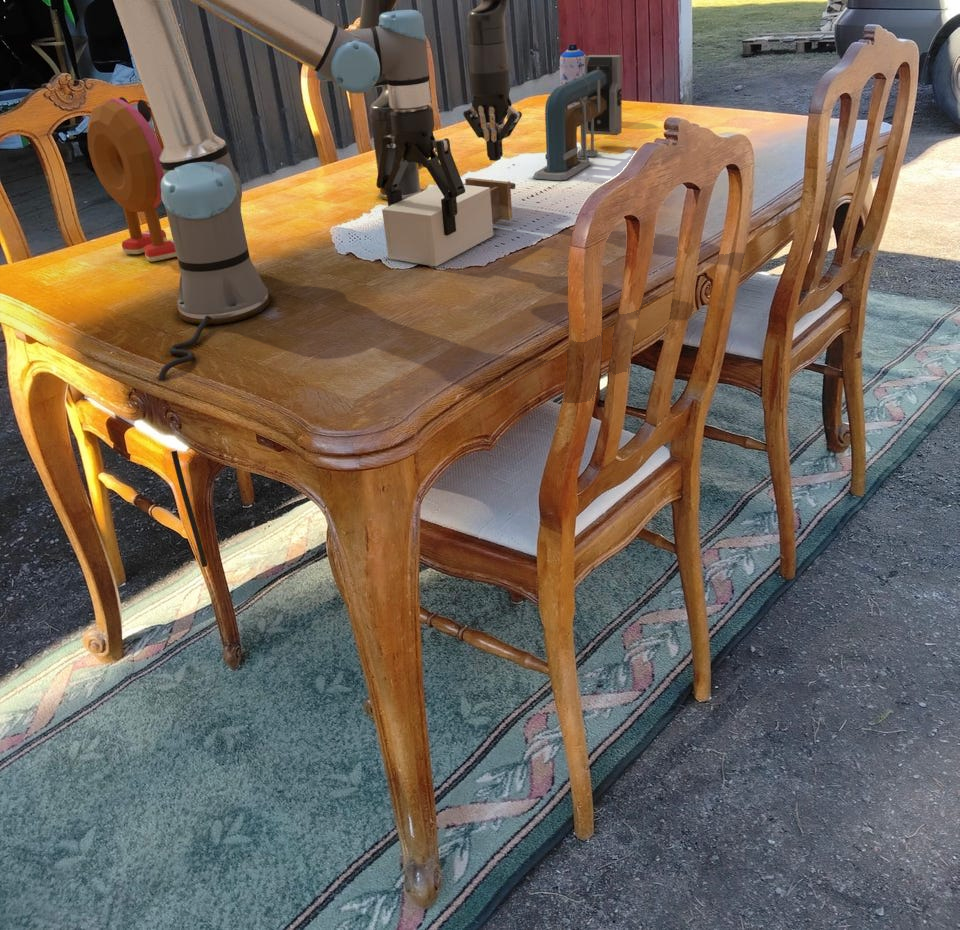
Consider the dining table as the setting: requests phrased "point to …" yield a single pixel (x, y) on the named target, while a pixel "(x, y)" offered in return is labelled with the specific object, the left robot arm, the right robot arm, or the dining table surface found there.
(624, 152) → the dining table surface
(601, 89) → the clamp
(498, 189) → the drawer
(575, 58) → the aerosol can
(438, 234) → the beige cardboard box
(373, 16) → the right robot arm
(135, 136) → the toy
